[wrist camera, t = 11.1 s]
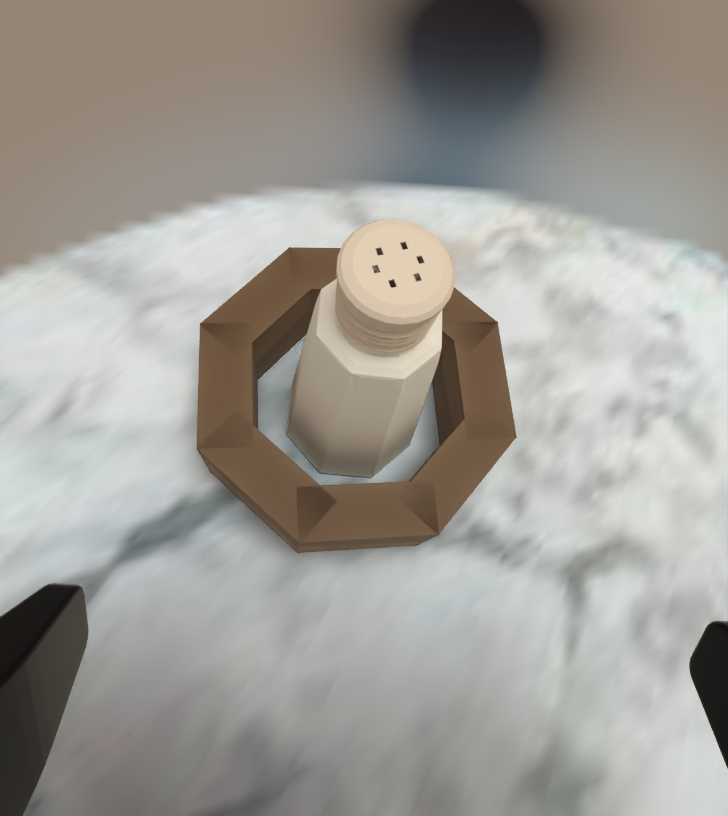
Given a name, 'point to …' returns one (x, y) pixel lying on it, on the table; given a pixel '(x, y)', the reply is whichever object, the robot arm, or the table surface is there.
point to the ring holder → (283, 479)
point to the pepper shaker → (371, 349)
